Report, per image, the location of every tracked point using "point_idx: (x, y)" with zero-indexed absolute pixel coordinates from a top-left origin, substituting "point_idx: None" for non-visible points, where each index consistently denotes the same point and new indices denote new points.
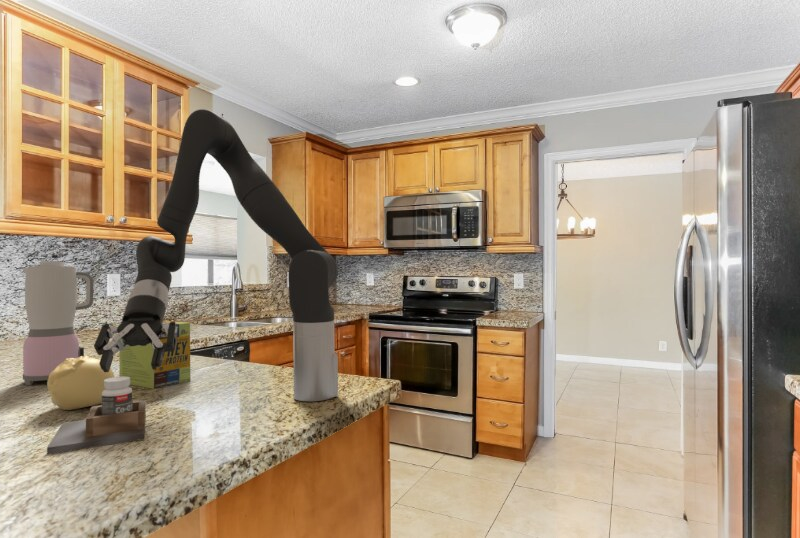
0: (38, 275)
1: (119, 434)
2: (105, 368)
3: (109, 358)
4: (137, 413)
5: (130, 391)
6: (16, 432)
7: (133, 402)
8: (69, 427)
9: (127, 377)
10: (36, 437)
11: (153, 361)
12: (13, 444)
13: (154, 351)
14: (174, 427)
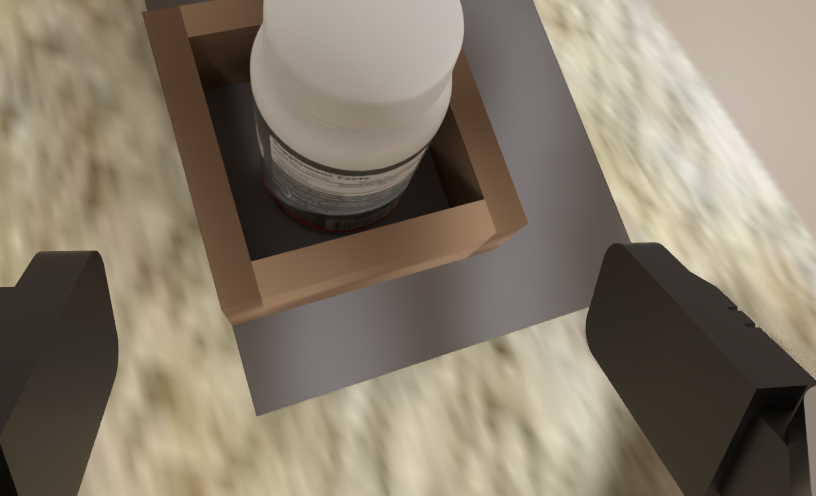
0: None
1: None
2: (609, 266)
3: (673, 352)
4: (182, 8)
5: (252, 50)
6: (804, 279)
7: (289, 258)
8: (569, 194)
9: (290, 35)
10: (669, 180)
11: (55, 257)
12: (702, 112)
13: (10, 381)
14: (24, 162)
